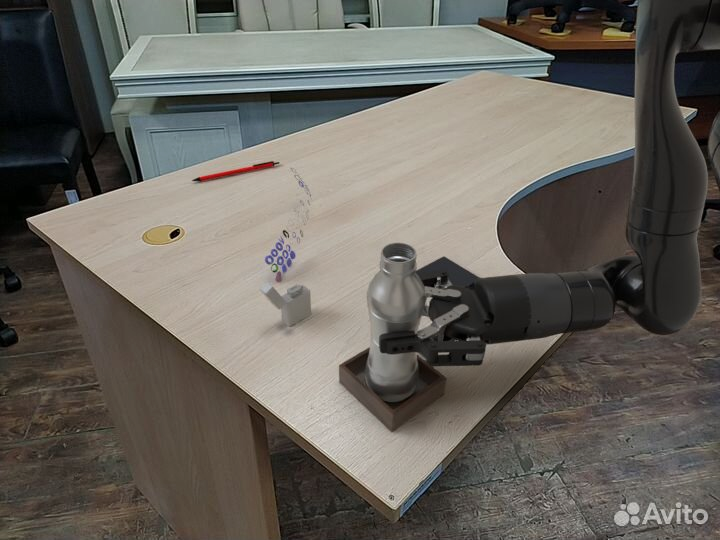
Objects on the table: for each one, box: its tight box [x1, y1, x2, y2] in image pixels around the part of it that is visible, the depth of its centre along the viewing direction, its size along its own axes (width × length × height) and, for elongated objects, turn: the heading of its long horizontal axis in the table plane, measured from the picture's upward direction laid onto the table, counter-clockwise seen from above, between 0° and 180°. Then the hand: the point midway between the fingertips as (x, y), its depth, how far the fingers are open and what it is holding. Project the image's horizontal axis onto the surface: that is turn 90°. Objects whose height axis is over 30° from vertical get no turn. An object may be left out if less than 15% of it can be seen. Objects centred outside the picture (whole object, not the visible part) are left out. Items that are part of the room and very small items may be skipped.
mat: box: [415, 256, 481, 286], centre depth 82 cm, size 10×7×1 cm
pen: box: [191, 160, 280, 182], centre depth 111 cm, size 1×19×1 cm, turn 118°
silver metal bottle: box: [364, 242, 426, 403], centre depth 59 cm, size 6×7×20 cm
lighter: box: [258, 281, 312, 328], centre depth 72 cm, size 7×2×8 cm, turn 133°
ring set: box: [264, 167, 337, 282], centre depth 88 cm, size 25×12×12 cm, turn 168°
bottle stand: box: [338, 346, 447, 433], centre depth 64 cm, size 10×9×3 cm
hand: (374, 323), depth 58 cm, fingers closed on silver metal bottle, 6 cm apart
